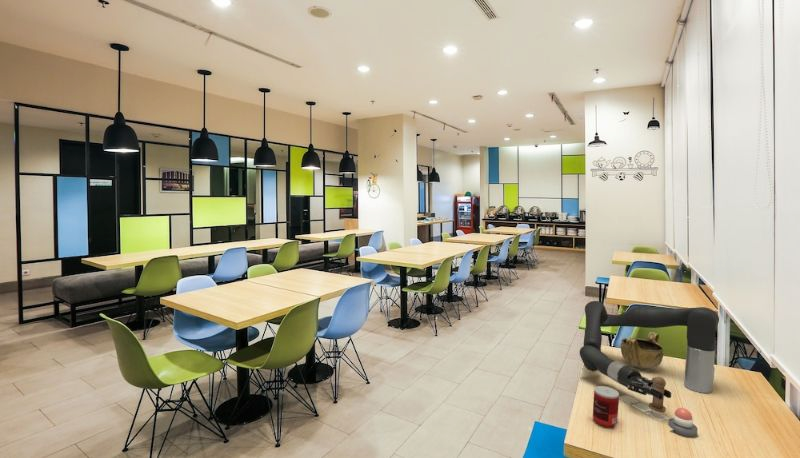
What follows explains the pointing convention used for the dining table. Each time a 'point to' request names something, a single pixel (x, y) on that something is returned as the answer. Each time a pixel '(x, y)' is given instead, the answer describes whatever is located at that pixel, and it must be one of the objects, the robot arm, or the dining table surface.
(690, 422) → the dome plunger
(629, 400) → the track
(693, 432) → the dome housing
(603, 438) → the dining table surface
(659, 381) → the pawn
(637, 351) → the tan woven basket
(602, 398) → the canned food
